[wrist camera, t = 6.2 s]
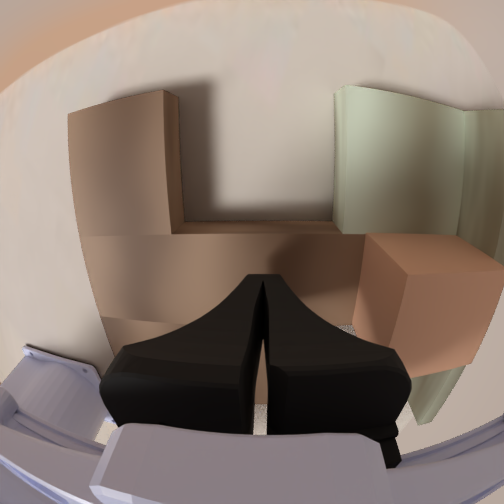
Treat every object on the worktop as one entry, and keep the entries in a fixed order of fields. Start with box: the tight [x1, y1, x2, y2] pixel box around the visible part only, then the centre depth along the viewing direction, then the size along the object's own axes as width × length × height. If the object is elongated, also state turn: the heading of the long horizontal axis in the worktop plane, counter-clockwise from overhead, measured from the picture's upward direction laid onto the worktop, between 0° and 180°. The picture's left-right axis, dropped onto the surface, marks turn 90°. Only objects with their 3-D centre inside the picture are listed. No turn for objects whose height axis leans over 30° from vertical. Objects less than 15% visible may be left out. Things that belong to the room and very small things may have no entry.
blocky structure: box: [68, 85, 504, 425], centre depth 11 cm, size 19×16×5 cm
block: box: [352, 233, 504, 378], centre depth 10 cm, size 5×4×4 cm
